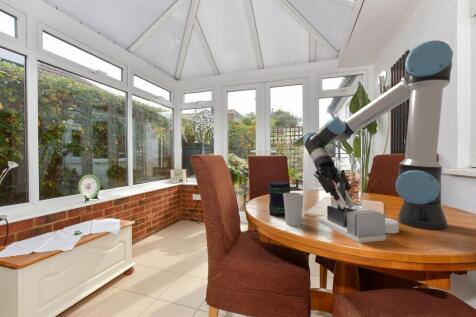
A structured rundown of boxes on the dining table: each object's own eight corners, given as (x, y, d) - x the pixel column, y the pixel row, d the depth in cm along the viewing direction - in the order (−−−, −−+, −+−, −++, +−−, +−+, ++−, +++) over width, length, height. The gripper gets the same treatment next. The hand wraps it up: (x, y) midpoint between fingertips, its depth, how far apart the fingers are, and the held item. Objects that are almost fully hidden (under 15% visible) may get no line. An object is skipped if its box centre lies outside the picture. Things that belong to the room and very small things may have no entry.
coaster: (364, 230, 84) (364, 221, 84) (370, 223, 92) (370, 215, 92) (397, 236, 78) (397, 226, 78) (400, 228, 85) (400, 219, 85)
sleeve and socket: (322, 220, 92) (322, 202, 92) (344, 218, 94) (344, 201, 94) (358, 237, 72) (358, 215, 72) (385, 235, 74) (385, 213, 74)
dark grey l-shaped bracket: (334, 218, 89) (334, 182, 89) (341, 217, 90) (341, 182, 90) (364, 231, 74) (364, 187, 74) (373, 230, 74) (373, 187, 74)
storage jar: (290, 217, 101) (289, 184, 101) (268, 216, 104) (267, 183, 103) (290, 212, 111) (290, 181, 111) (270, 211, 113) (269, 181, 113)
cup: (304, 227, 88) (304, 196, 88) (283, 226, 89) (283, 195, 89) (302, 221, 96) (302, 192, 96) (283, 220, 97) (283, 192, 97)
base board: (315, 220, 97) (315, 216, 97) (336, 218, 99) (336, 215, 99) (358, 242, 72) (358, 238, 72) (385, 240, 74) (385, 235, 74)
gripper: (334, 166, 104) (361, 210, 88) (303, 166, 101) (324, 213, 85) (342, 154, 99) (372, 199, 83) (308, 154, 96) (333, 202, 80)
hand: (348, 206), depth 84 cm, fingers closed on dark grey l-shaped bracket, 3 cm apart
